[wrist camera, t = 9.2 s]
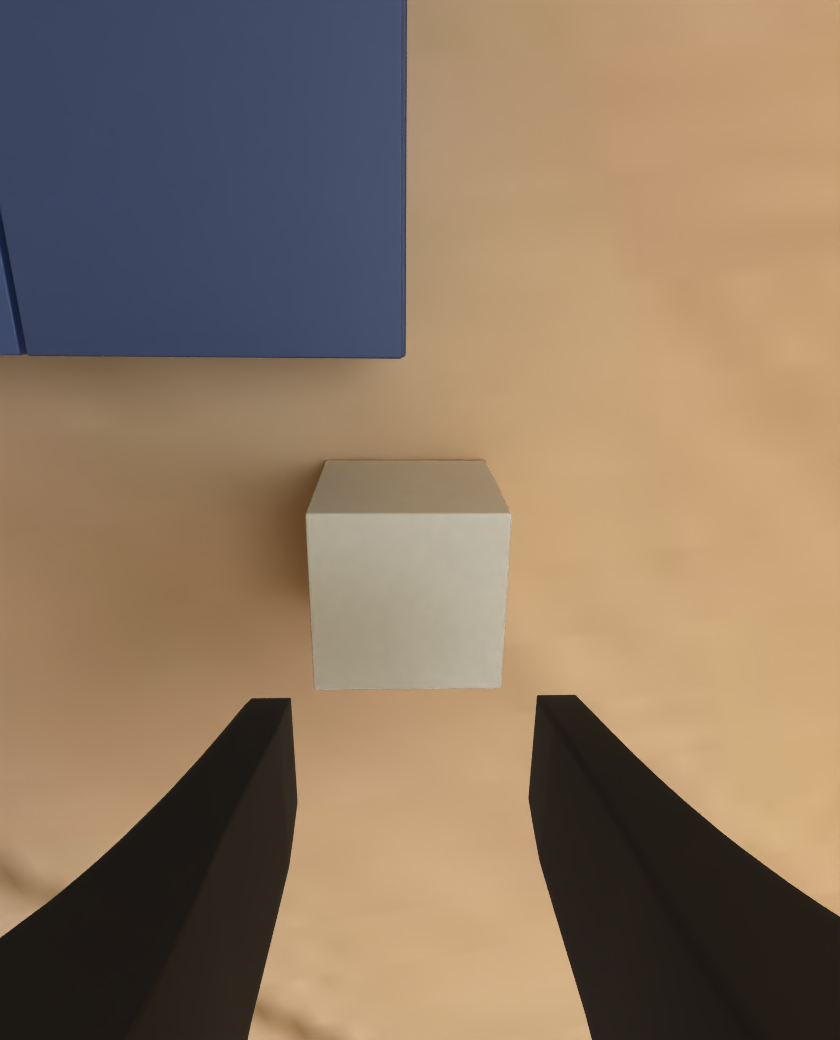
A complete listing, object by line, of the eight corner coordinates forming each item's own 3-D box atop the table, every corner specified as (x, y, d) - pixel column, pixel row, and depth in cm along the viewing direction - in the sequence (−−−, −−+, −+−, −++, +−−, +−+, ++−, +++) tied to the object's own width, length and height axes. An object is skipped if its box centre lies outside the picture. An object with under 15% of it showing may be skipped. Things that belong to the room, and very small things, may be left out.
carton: (402, 336, 17) (406, 361, 12) (-138, 331, 17) (-377, 355, 12) (404, -269, 13) (410, -619, 8) (-306, -298, 13) (-785, -692, 8)
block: (479, 603, 20) (501, 689, 16) (330, 604, 20) (314, 691, 16) (486, 459, 19) (512, 513, 14) (325, 459, 19) (304, 513, 14)
